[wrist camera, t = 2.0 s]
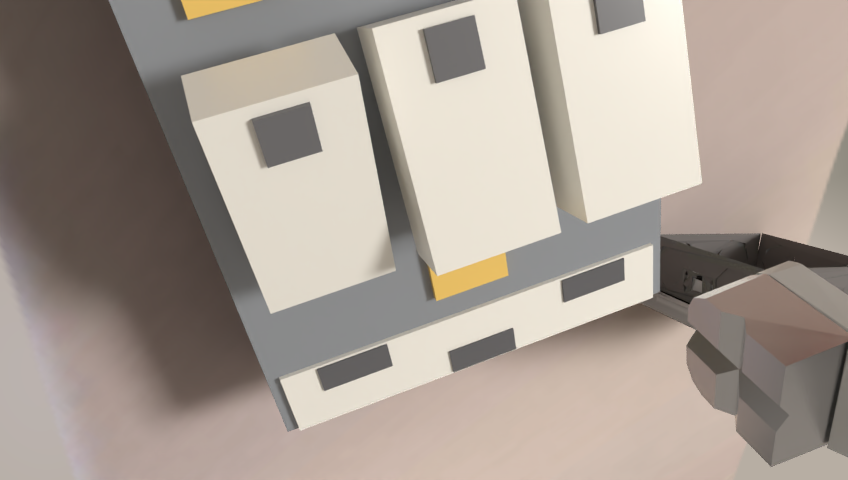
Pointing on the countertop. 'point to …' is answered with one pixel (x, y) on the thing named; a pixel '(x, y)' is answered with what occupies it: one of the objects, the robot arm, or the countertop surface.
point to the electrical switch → (730, 265)
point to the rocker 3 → (612, 101)
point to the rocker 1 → (295, 168)
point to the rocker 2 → (462, 129)
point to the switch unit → (413, 279)
